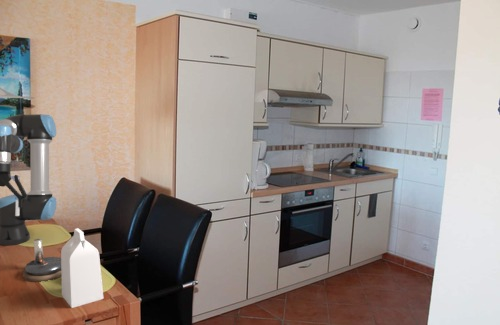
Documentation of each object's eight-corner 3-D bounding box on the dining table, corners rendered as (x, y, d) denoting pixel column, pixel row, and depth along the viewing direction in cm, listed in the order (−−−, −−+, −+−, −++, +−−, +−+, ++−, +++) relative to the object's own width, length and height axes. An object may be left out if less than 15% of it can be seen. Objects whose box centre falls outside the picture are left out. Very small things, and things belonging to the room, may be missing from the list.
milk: (103, 298, 159) (100, 231, 155) (71, 308, 152) (67, 238, 148) (92, 287, 168) (89, 223, 164) (61, 295, 161) (57, 229, 157)
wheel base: (55, 262, 192) (55, 257, 192) (75, 272, 182) (75, 268, 181) (16, 274, 179) (15, 269, 179) (34, 286, 169) (34, 281, 168)
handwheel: (71, 267, 181) (70, 242, 179) (35, 279, 170) (33, 252, 168) (54, 258, 190) (52, 234, 189) (19, 268, 179) (17, 243, 177)
